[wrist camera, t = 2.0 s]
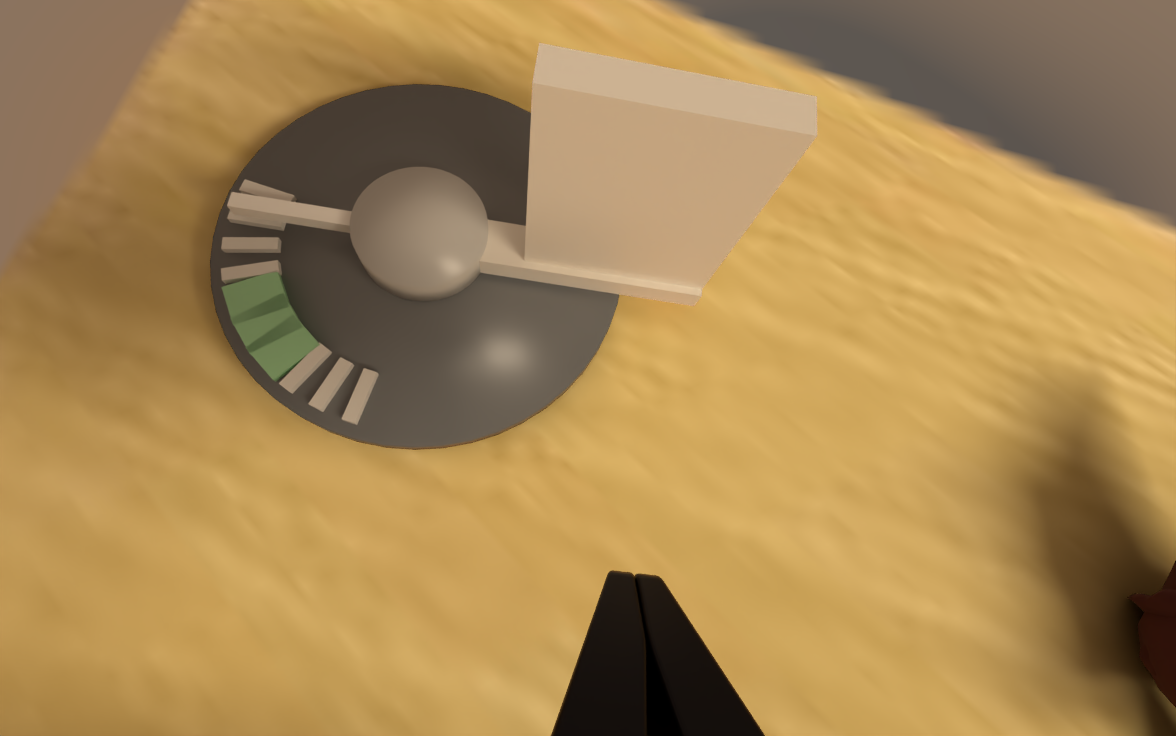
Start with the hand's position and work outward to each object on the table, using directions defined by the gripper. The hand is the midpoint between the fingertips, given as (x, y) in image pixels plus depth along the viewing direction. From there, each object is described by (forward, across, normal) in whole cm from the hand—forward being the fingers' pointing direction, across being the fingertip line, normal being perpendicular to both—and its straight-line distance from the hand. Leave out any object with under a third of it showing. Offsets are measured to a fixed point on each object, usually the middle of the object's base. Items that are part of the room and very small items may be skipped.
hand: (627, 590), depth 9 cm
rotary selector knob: (+16, +5, 0) cm, 17 cm away
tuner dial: (+17, +7, +1) cm, 18 cm away
